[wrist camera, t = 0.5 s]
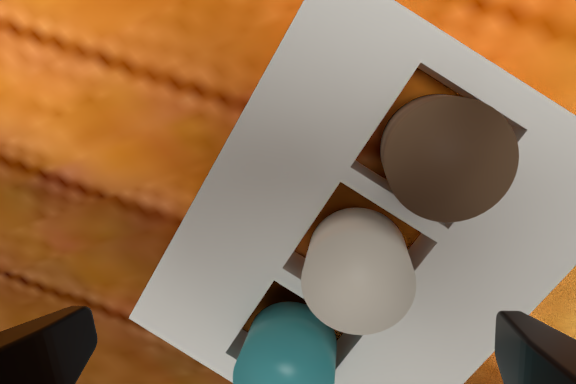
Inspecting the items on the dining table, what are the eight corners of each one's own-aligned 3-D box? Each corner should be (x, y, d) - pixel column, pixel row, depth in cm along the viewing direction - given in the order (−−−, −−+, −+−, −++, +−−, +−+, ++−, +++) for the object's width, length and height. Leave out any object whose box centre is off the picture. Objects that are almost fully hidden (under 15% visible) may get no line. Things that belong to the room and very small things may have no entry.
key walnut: (513, 131, 17) (548, 142, 14) (445, 218, 19) (463, 244, 16) (421, 72, 17) (436, 71, 14) (359, 163, 19) (360, 180, 16)
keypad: (625, 160, 19) (664, 172, 17) (375, 435, 25) (378, 473, 23) (330, -27, 19) (327, -43, 16) (150, 295, 25) (128, 318, 22)
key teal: (354, 333, 21) (354, 376, 18) (306, 393, 22) (299, 443, 19) (277, 285, 21) (264, 320, 18) (234, 348, 22) (215, 391, 19)
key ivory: (426, 241, 19) (440, 272, 16) (370, 313, 21) (373, 354, 17) (342, 189, 19) (340, 209, 16) (291, 264, 20) (280, 296, 17)
